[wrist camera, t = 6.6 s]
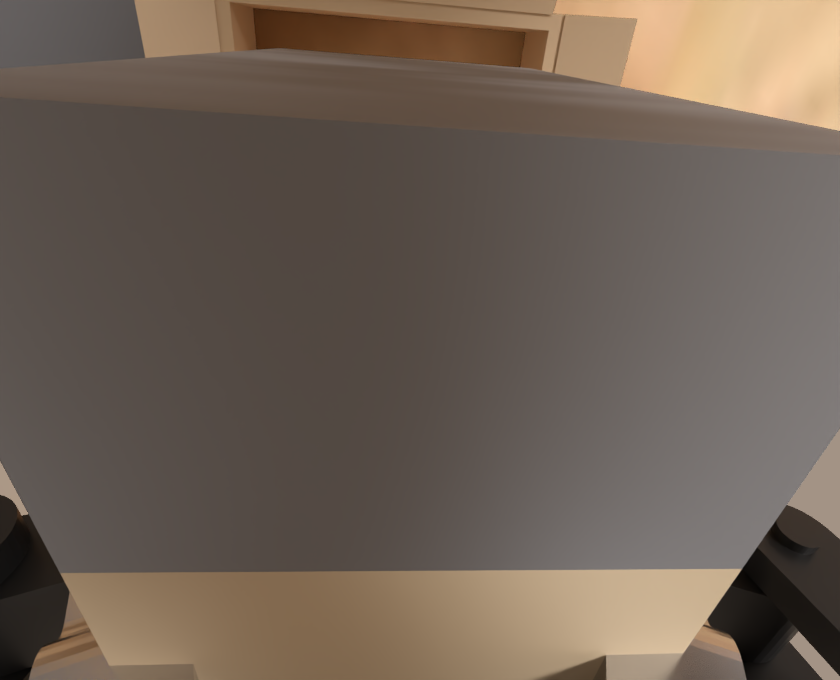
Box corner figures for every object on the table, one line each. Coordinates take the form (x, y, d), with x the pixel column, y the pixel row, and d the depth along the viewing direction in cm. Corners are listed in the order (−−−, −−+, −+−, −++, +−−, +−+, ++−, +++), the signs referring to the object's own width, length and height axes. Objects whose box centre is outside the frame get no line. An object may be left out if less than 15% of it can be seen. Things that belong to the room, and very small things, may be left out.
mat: (148, -23, 22) (144, -24, 21) (204, 297, 30) (202, 300, 30) (-45, -41, 21) (-52, -43, 21) (68, 292, 29) (64, 294, 29)
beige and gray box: (530, 68, 10) (1021, 169, 2) (461, 480, 16) (526, 879, 8) (279, 48, 9) (-201, 83, 2) (309, 479, 16) (232, 895, 8)
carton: (606, -44, 22) (661, -66, 18) (523, 340, 33) (544, 387, 29) (168, -90, 21) (107, -127, 16) (231, 331, 31) (205, 379, 27)
